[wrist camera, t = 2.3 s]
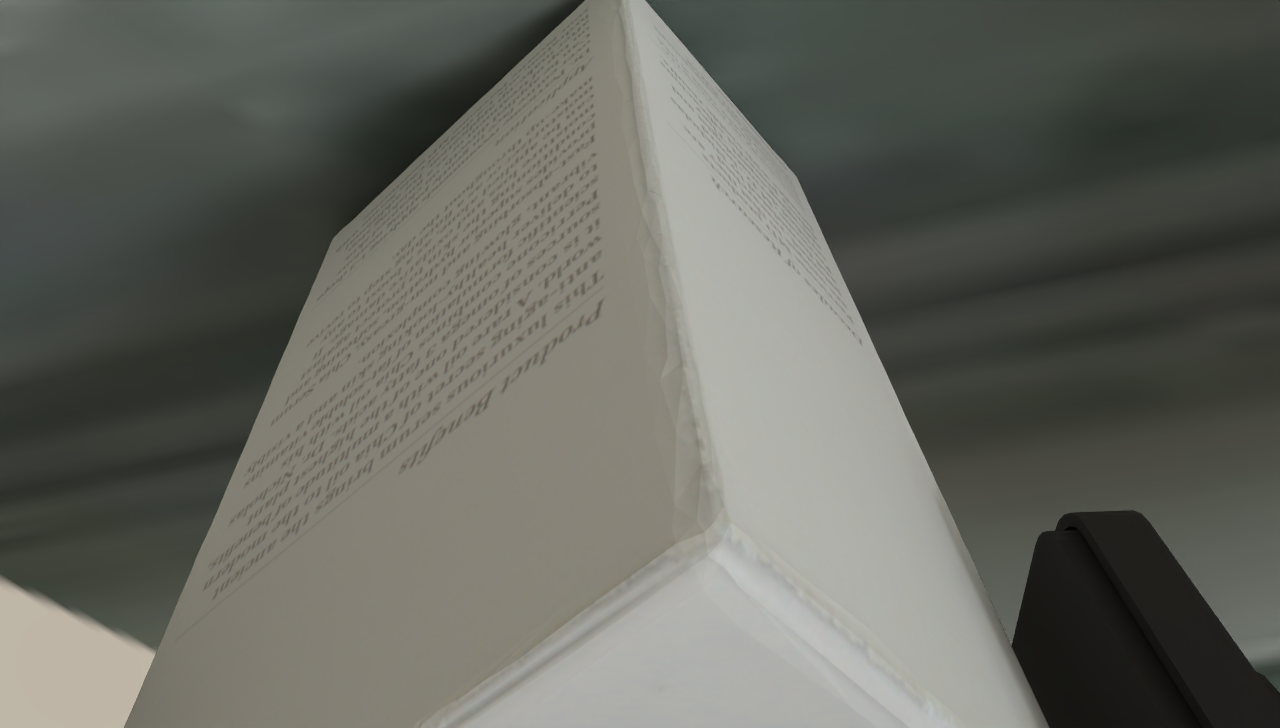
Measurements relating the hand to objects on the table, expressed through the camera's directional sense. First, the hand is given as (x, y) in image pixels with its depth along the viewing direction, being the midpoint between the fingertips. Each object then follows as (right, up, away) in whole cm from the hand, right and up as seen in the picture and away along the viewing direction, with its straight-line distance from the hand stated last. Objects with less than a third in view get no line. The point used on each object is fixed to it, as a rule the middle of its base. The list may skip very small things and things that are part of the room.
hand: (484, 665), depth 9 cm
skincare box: (0, +5, +8) cm, 9 cm away
